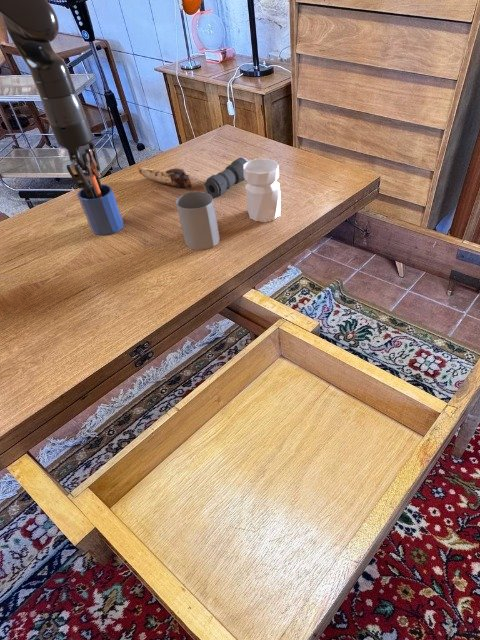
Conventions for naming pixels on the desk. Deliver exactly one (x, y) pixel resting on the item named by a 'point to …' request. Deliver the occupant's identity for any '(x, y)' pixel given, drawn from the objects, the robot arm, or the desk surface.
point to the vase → (262, 189)
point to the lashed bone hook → (167, 176)
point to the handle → (96, 186)
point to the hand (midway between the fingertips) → (96, 197)
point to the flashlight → (226, 178)
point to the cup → (198, 220)
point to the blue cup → (102, 212)
